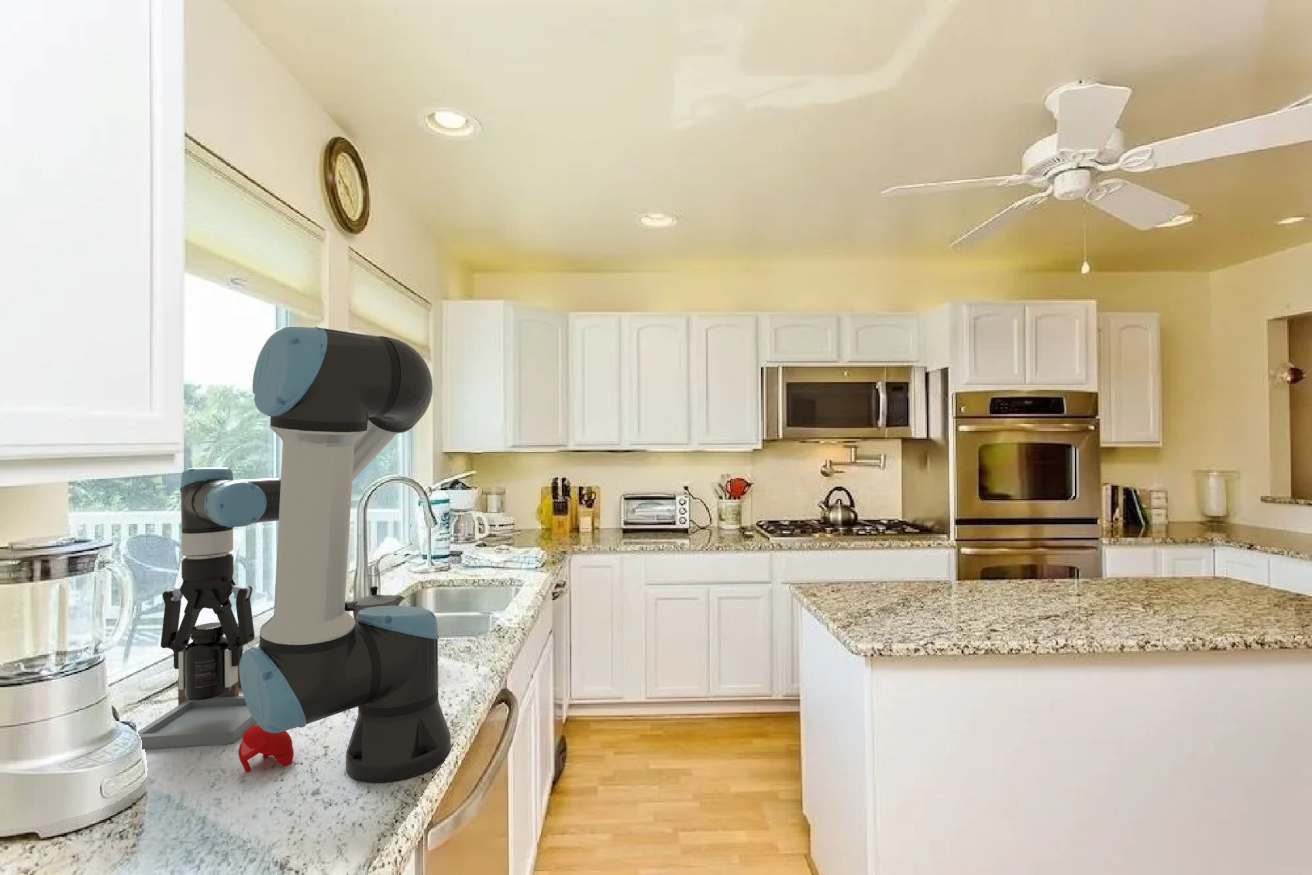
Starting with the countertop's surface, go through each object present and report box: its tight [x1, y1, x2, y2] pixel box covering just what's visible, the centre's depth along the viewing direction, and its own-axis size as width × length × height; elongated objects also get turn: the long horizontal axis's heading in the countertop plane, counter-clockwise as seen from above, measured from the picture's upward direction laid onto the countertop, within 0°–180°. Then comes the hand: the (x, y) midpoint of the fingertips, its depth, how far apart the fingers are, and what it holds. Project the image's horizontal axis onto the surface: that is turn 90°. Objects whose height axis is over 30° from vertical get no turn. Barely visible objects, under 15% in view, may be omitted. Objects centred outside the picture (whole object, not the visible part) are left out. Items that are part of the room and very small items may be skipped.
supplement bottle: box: [185, 621, 232, 701], centre depth 112 cm, size 7×7×12 cm
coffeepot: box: [345, 585, 405, 624], centre depth 139 cm, size 15×9×18 cm, turn 134°
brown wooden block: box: [177, 665, 242, 706], centre depth 125 cm, size 11×10×6 cm
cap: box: [238, 724, 294, 773], centre depth 98 cm, size 8×6×6 cm
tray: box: [137, 695, 257, 750], centre depth 112 cm, size 16×16×2 cm
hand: (208, 685), depth 112 cm, fingers closed on supplement bottle, 7 cm apart
